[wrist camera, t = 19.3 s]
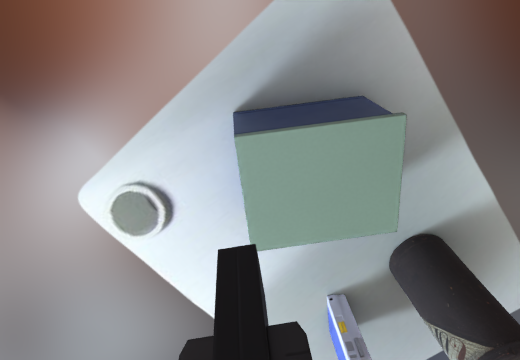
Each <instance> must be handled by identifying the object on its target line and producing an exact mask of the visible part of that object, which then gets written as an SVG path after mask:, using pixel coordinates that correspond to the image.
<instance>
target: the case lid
mask: <svg viewBox="0 0 520 360" xmlns="http://www.w3.org/2000/svg"><path fill="white" fill-rule="evenodd" d="M406 118H407V115H406V114H405V113H395V114H387V115H380V116H372V117H365V118H357V119H349V120H342V121H334V122H327V123H319V124H311V125H304V126H296V127H288V128H281V129H273V130H266V131H258V132H250V133H243V134H235V135H234V139H235V146H236V153H237V159H238V166H239V173H240V180H241V186H242V193H243V200H244V206H245V213H246V220H247V227H248V233H249V240H250V245H251V244H256V248H257V251H263V250H270V249H277V248H284V247H291V246H299V245H306V244H313V243H320V242H327V241H334V240H341V239H348V238H355V237H362V236H369V235H376V234H383V233H390V232H397V227H398V215H399V203H400V191H401V179H402V166H403V154H404V142H405V130H406Z"/></svg>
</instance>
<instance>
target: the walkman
mask: <svg viewBox="0 0 520 360" xmlns="http://www.w3.org/2000/svg"><path fill="white" fill-rule="evenodd" d="M327 304H328V316H329V329H330V334H331V337H332V341H333V344H334V347H335V350H336V353H337V356H338V359H339V360H372V359H371V357H370V354H369V352H368V350H367V347H366V345H365V342H364V340H363V337H362V335H361V333H360V330H359V328H358V325H357V323H356V321H355V318H354V316H353V313H352V311H351V309H350V306H349V304H348V301H347V299H346V297H345V294H341V295H330V296H327Z"/></svg>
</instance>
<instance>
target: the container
mask: <svg viewBox="0 0 520 360" xmlns="http://www.w3.org/2000/svg"><path fill="white" fill-rule="evenodd" d="M389 267H390V270H391V272H392V274H393V276H394V277H395V279H396V280H397V282H398V283H399V285H400V286H401V288H402V289H403V291H404V292H405V293H406V295H407V296H408V298H409V299H410V301H411V302H412V304H413V305H414V307H415V308H416V310H417V311H418V313H419V314H420V316H421V317H422V319H423V320H424V322H425V323H426V325H427V326H428V328H429V329H430V331H431V332H432V334H433V335H434V337H435V338H436V340H437V341H438V343H439V344H440V346H441V347H442V349H443V350H444V351H445V353H446V355H447V356H448V357H449V359H450V360H520V325H519V324H518V323H517V321H516V320H515V319H514V318H513V317H512V316H511V315H510V314H509V313H508V312H507V311H506V310H505V308H504V307H503V306H502V305H501V304H500V303H499V302H498V301H497V300H496V298H495V297H494V296H493V295H492V294H491V293H490V292H489V291H488V290H487V289H486V287H485V286H484V285H483V284H482V283H481V282H480V281H479V280H478V279H477V278H476V276H475V275H474V274H473V273H472V272H471V271H470V270H469V269H468V268H467V266H466V265H465V264H464V263H463V262H462V261H461V260H460V258H459V257H458V256H457V255H456V254H455V253H454V252H453V250H452V249H451V248H450V247H449V246H448V245H447V244H446V243H445V242H444V241H443V240H442V239H441V238H439V237H437V236H434V235H427V234H426V235H418V236H415V237H412V238H410V239H408V240H406V241H405V242H403V243H402V244H401V245H399V246H398V247H397V248H396V250H395V251H394V252H393V254H392V256H391V258H390V264H389Z"/></svg>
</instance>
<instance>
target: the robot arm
mask: <svg viewBox="0 0 520 360" xmlns="http://www.w3.org/2000/svg"><path fill="white" fill-rule="evenodd" d="M179 360H312V356H311V353H310V348H309V344H308V339H307V335H306V333H305V332H304V330H303V329H302V328H301V326H300V325H299V324H298V323H297V321H296V322H290V323H283V324H277V325H271V326H268V318H267V310H266V301H265V294H264V288H263V282H262V277H261V271H260V265H259V259H258V254H257V248H256V244H251V245H245V246H238V247H232V248H226V249H219V250H218V260H217V280H216V299H215V319H214V336H209V337H203V338H196V339H191V340H188V341H187V343H186V344H185V346H184V348H183V350H182V352H181V354H180V355H179Z"/></svg>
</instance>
